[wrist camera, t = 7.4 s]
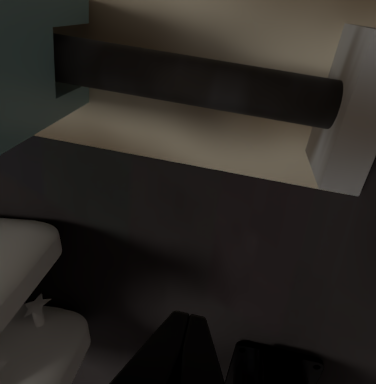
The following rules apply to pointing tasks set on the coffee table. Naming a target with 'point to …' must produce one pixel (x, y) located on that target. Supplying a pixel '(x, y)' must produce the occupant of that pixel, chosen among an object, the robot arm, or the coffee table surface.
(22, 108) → the marker sleeve
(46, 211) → the coffee table surface
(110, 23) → the cord board
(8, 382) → the cable organizer
